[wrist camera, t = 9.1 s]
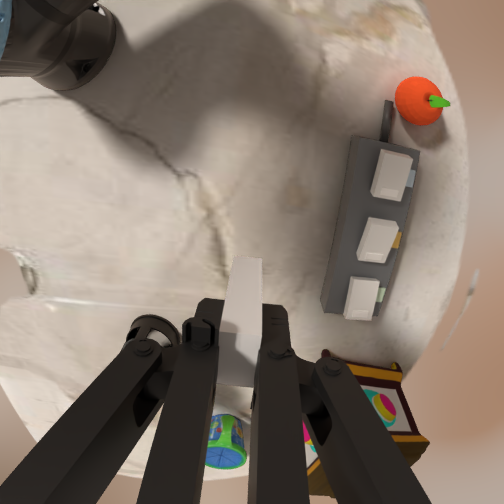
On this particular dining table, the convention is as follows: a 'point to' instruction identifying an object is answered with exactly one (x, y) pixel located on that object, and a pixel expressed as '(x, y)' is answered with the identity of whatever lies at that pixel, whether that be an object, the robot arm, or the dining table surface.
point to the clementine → (419, 101)
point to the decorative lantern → (390, 411)
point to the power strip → (364, 219)
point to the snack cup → (225, 443)
